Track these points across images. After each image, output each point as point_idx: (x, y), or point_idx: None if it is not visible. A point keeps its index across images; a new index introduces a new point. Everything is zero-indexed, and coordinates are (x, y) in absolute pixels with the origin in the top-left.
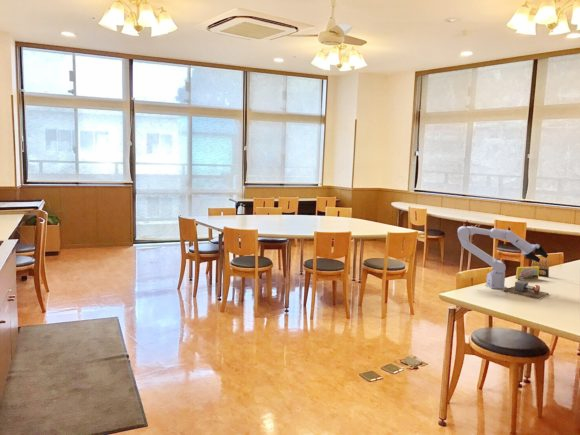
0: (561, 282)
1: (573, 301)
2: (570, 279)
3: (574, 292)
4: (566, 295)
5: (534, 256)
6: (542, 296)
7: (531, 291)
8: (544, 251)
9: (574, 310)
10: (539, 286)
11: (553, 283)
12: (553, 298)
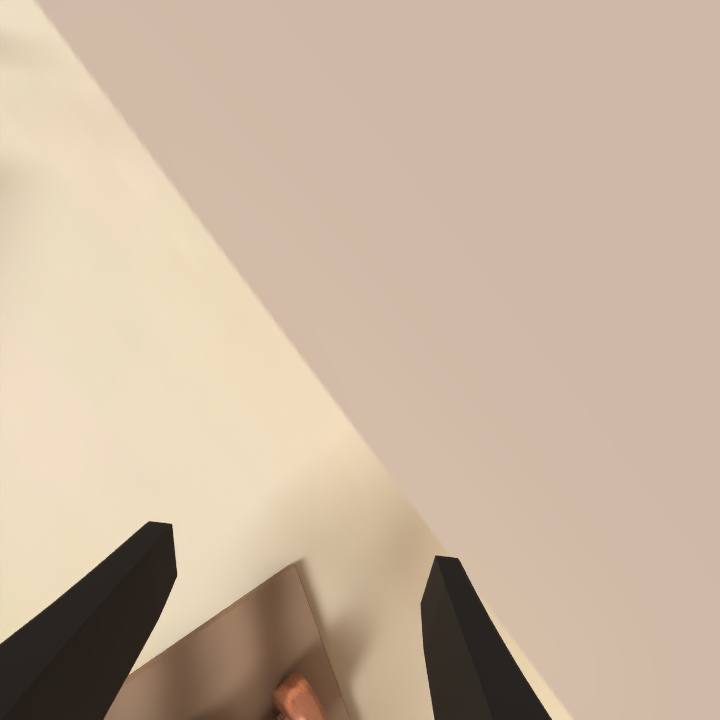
0: (47, 140)
1: (413, 513)
2: (12, 7)
3: (286, 337)
4: (324, 445)
5: (54, 708)
6: (332, 678)
7: (216, 715)
8: (524, 687)
9: (515, 642)
10: (315, 698)
11: (35, 216)
12: (359, 597)
